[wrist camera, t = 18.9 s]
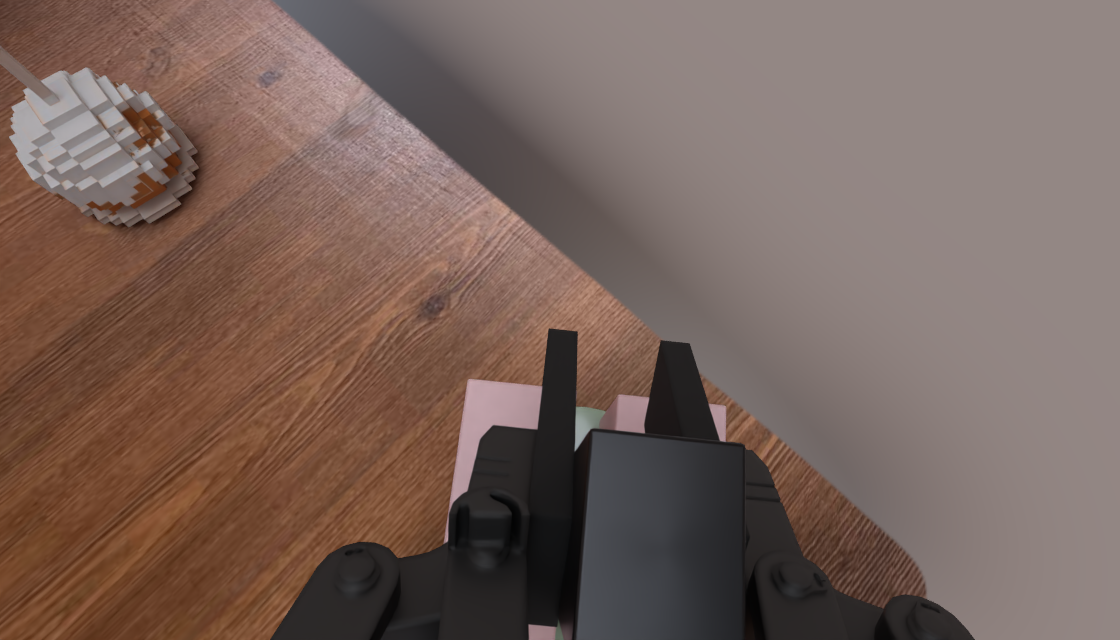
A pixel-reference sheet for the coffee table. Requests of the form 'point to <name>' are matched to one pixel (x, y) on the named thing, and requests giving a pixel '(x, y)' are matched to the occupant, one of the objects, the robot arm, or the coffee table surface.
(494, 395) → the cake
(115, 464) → the coffee table surface
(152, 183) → the decorative ornament
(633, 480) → the knife
